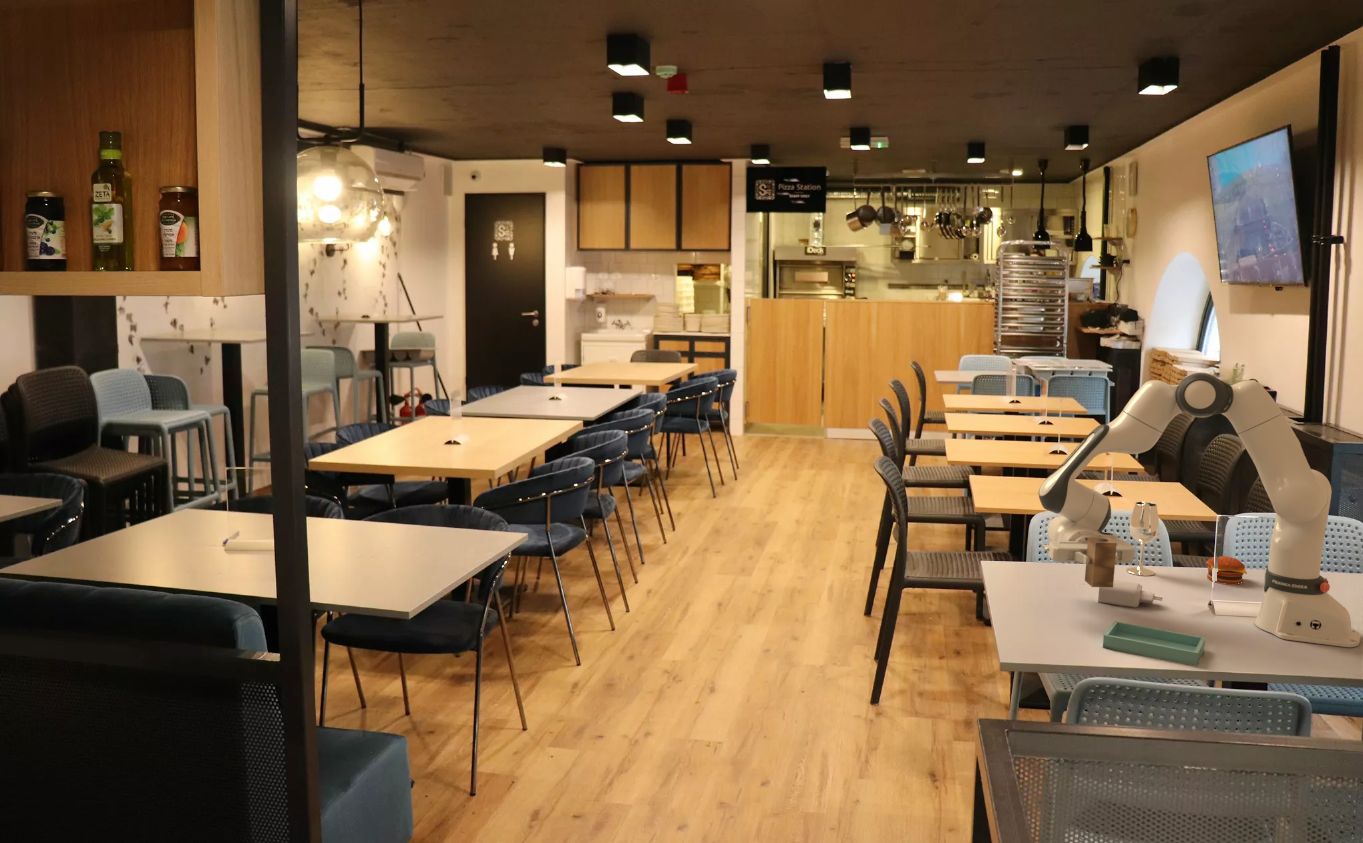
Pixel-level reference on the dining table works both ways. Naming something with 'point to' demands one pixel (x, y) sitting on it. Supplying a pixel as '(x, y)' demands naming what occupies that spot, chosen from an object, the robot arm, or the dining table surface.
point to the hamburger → (1227, 570)
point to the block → (1101, 562)
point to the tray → (1154, 643)
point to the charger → (1125, 594)
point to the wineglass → (1143, 531)
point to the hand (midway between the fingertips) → (1102, 561)
